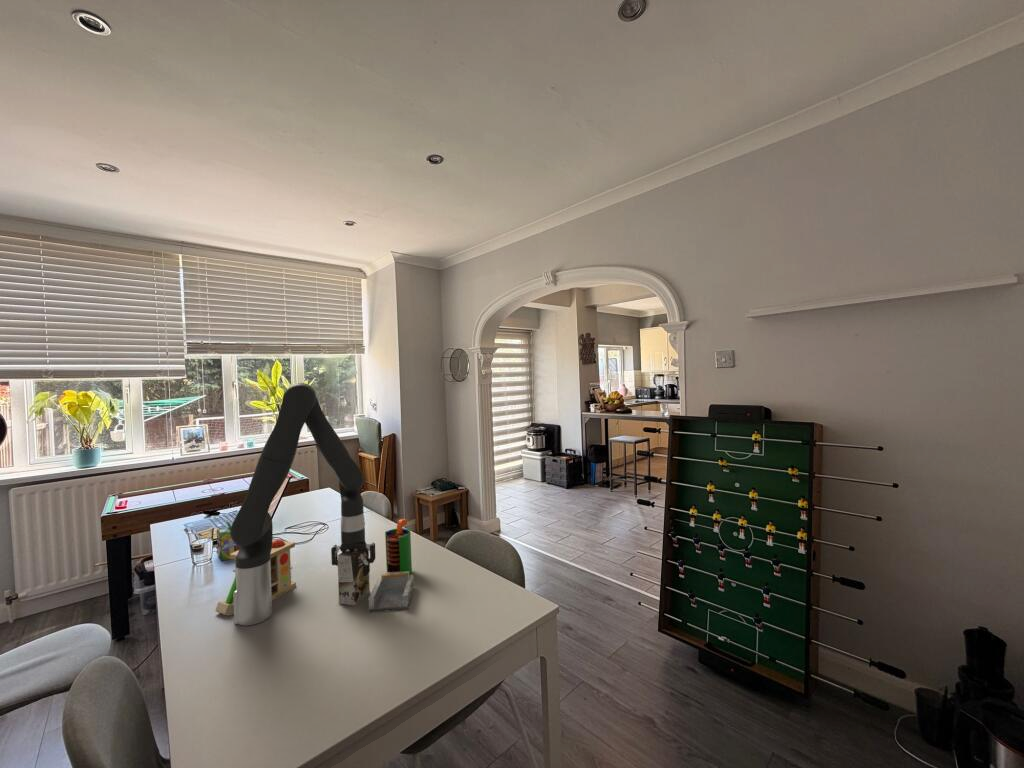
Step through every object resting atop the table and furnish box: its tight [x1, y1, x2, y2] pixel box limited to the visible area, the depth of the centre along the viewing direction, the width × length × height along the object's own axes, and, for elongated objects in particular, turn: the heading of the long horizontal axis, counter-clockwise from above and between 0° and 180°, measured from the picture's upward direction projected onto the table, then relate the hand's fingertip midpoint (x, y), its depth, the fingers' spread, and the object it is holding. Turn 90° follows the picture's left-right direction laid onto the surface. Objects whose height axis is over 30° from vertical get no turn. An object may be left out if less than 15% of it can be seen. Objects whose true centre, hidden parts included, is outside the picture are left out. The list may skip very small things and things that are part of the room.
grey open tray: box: [368, 571, 415, 613], centre depth 140 cm, size 12×14×6 cm
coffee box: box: [337, 548, 371, 606], centre depth 141 cm, size 9×6×16 cm
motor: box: [384, 518, 413, 575], centre depth 159 cm, size 10×9×20 cm
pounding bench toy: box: [215, 539, 297, 616], centre depth 142 cm, size 23×14×18 cm, turn 163°
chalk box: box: [216, 520, 240, 562], centre depth 180 cm, size 9×9×15 cm
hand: (354, 575), depth 141 cm, fingers closed on coffee box, 7 cm apart
